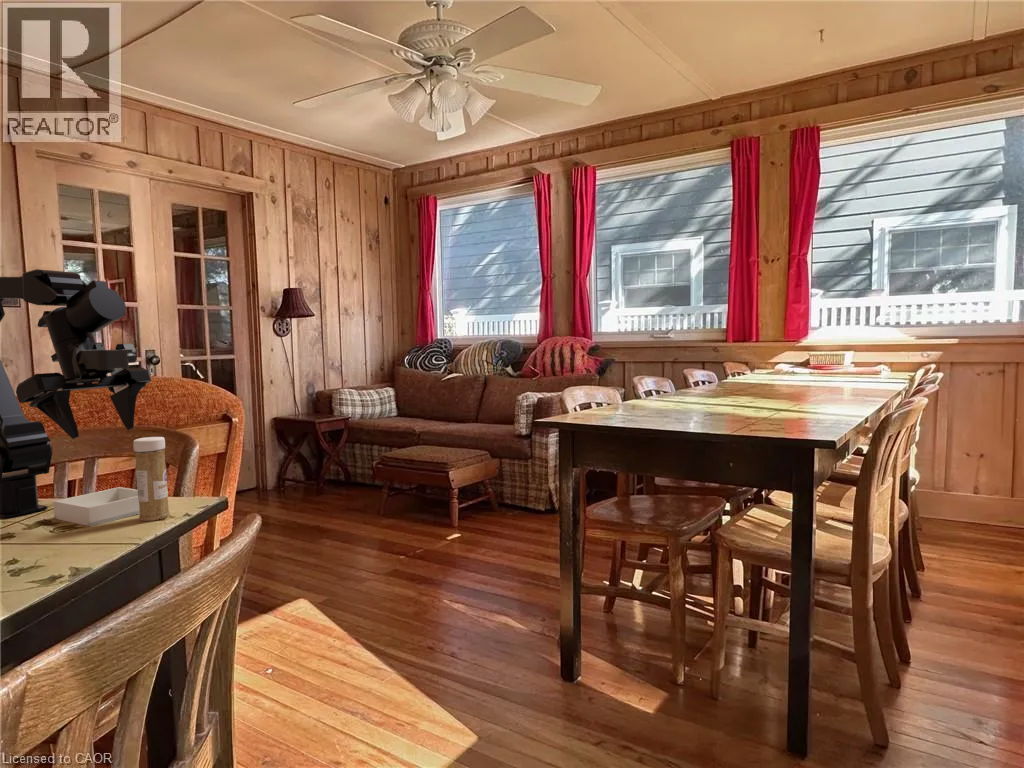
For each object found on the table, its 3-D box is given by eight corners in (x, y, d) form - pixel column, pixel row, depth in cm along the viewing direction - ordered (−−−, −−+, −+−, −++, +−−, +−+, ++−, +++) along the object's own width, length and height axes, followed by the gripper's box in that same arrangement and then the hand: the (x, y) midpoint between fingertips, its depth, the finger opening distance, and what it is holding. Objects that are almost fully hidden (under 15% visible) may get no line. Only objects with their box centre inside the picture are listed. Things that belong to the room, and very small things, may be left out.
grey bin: (54, 518, 107) (53, 501, 107) (120, 503, 117) (119, 486, 117) (90, 526, 102) (88, 508, 102) (156, 509, 112) (155, 492, 111)
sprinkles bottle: (171, 518, 106) (165, 438, 105) (139, 523, 103) (133, 441, 102) (168, 512, 109) (163, 435, 108) (137, 517, 107) (132, 437, 106)
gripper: (44, 324, 92) (77, 425, 91) (157, 325, 109) (186, 410, 108) (0, 352, 96) (31, 449, 95) (116, 348, 113) (144, 431, 113)
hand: (104, 433), depth 103 cm, fingers open, 9 cm apart
